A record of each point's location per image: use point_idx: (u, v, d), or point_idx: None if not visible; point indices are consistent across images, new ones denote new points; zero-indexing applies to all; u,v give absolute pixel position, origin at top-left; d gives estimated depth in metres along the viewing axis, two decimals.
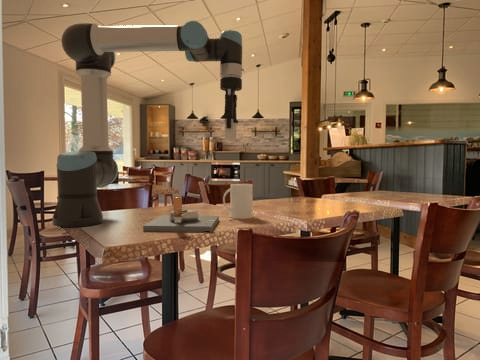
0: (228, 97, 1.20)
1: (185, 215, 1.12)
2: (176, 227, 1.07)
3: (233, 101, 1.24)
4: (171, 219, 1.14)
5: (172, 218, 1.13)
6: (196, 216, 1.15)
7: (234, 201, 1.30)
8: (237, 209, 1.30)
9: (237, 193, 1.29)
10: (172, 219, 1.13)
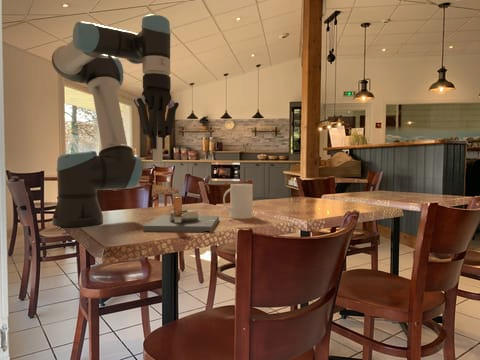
0: (139, 110, 0.98)
1: (185, 215, 1.12)
2: (176, 227, 1.07)
3: (153, 109, 0.99)
4: (171, 219, 1.14)
5: (172, 218, 1.13)
6: (196, 216, 1.15)
7: (234, 201, 1.30)
8: (237, 209, 1.30)
9: (237, 193, 1.29)
10: (172, 219, 1.13)
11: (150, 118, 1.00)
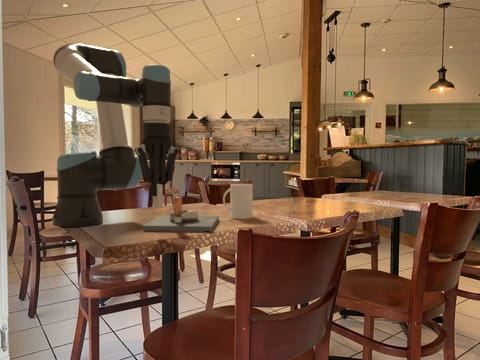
0: (140, 159, 0.99)
1: (185, 215, 1.12)
2: (176, 227, 1.07)
3: (153, 157, 1.00)
4: (171, 219, 1.14)
5: (172, 218, 1.13)
6: (196, 216, 1.15)
7: (234, 201, 1.30)
8: (237, 209, 1.30)
9: (237, 193, 1.29)
10: (172, 219, 1.13)
11: (150, 166, 1.01)
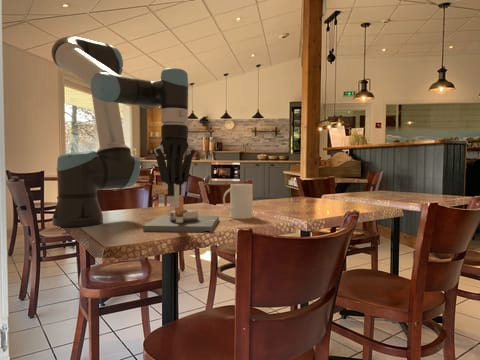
0: (158, 160, 1.02)
1: (186, 215, 1.12)
2: (176, 227, 1.07)
3: (171, 158, 1.03)
4: (171, 219, 1.14)
5: (172, 218, 1.13)
6: (196, 216, 1.15)
7: (234, 201, 1.30)
8: (237, 209, 1.30)
9: (237, 193, 1.29)
10: (172, 219, 1.13)
11: (168, 166, 1.04)
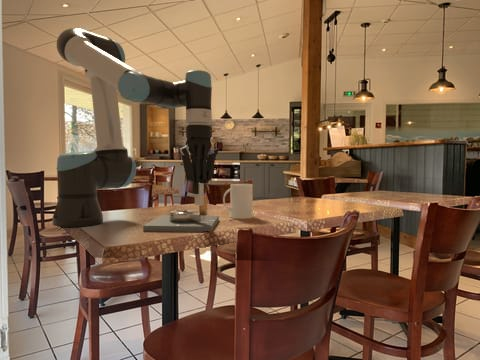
0: (184, 159, 1.05)
1: None
2: (176, 227, 1.07)
3: (196, 158, 1.06)
4: (181, 220, 1.12)
5: (183, 219, 1.12)
6: None
7: (234, 201, 1.30)
8: (237, 209, 1.30)
9: (237, 193, 1.29)
10: (183, 220, 1.12)
11: (193, 165, 1.07)
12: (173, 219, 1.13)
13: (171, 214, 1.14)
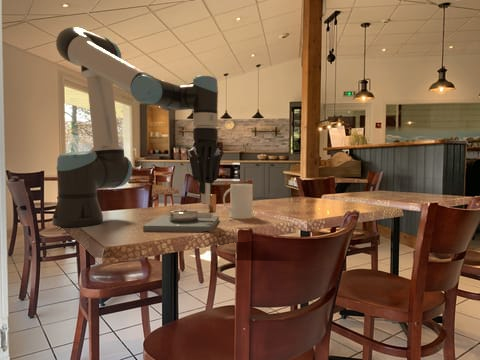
0: (191, 160, 1.10)
1: None
2: (176, 227, 1.07)
3: (202, 159, 1.12)
4: (191, 219, 1.13)
5: (192, 218, 1.13)
6: None
7: (234, 201, 1.30)
8: (237, 209, 1.30)
9: (237, 193, 1.29)
10: (192, 219, 1.14)
11: (200, 166, 1.13)
12: (182, 220, 1.12)
13: (178, 215, 1.12)
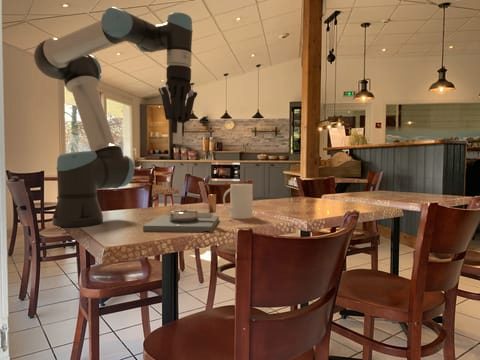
0: (163, 98, 1.11)
1: None
2: (176, 227, 1.07)
3: (175, 97, 1.12)
4: (191, 219, 1.13)
5: (192, 218, 1.13)
6: None
7: (234, 201, 1.30)
8: (237, 209, 1.30)
9: (237, 193, 1.29)
10: (192, 219, 1.14)
11: (172, 105, 1.13)
12: (182, 220, 1.12)
13: (178, 215, 1.12)
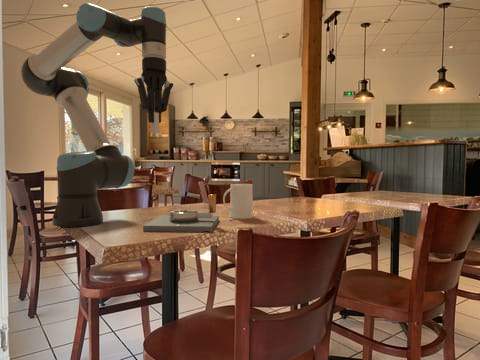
0: (139, 89, 1.15)
1: None
2: (176, 227, 1.07)
3: (150, 88, 1.16)
4: (191, 219, 1.13)
5: (192, 218, 1.13)
6: None
7: (234, 201, 1.30)
8: (237, 209, 1.30)
9: (237, 193, 1.29)
10: (192, 219, 1.14)
11: (148, 96, 1.17)
12: (182, 220, 1.12)
13: (178, 215, 1.12)
